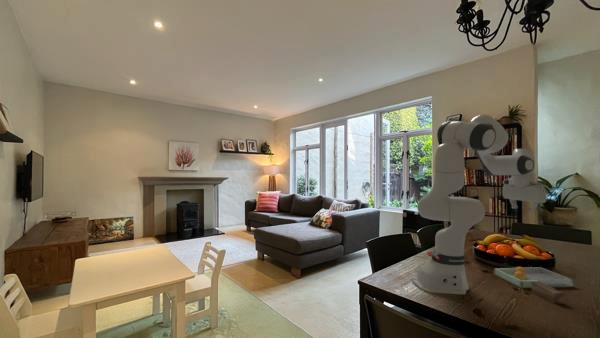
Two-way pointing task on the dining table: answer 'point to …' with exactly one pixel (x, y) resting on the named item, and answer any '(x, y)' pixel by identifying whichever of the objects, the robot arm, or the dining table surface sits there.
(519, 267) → the ball
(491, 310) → the dining table surface
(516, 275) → the ball
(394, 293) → the dining table surface
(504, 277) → the tray
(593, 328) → the dining table surface
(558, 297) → the taupe rectangular slab
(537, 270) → the grey metal shallow bin
